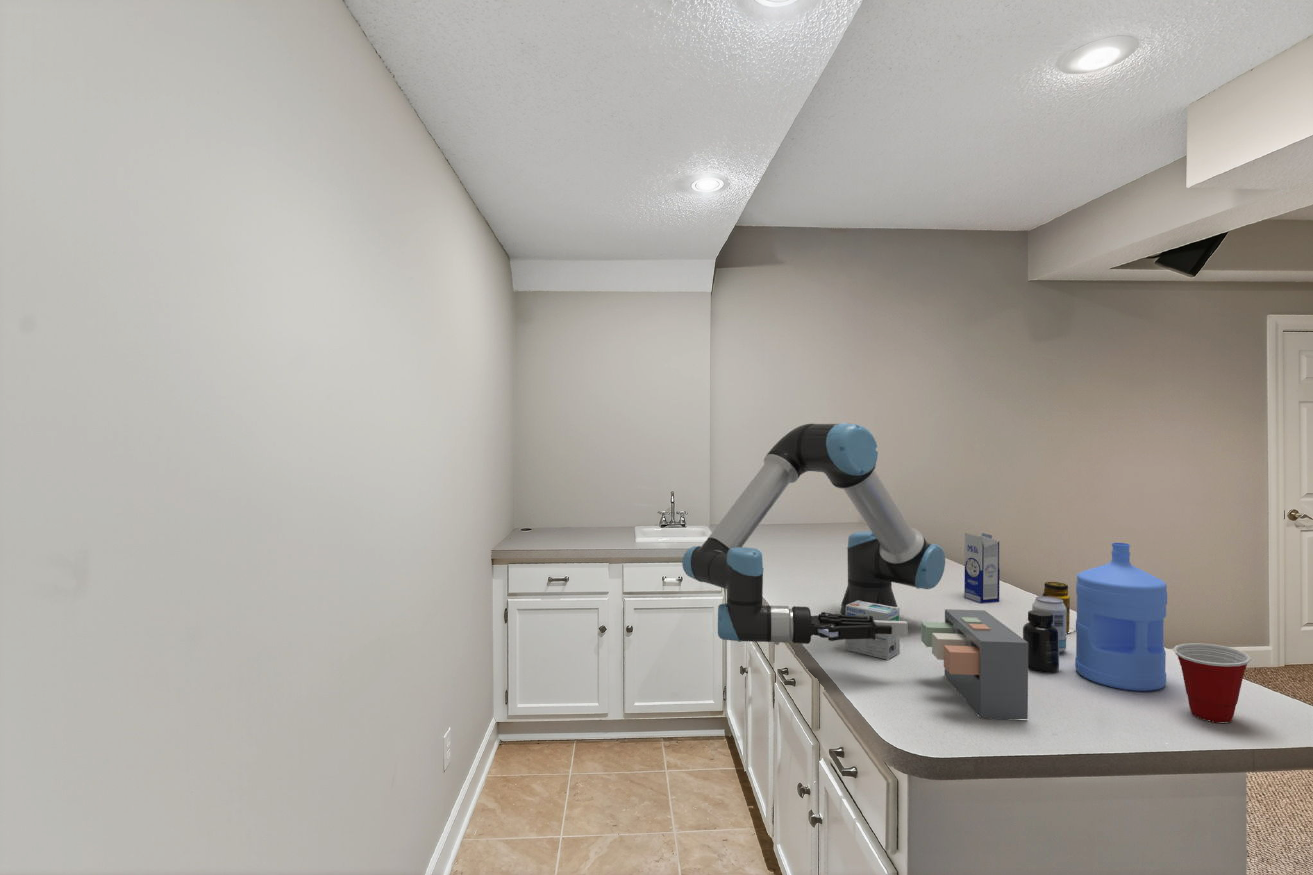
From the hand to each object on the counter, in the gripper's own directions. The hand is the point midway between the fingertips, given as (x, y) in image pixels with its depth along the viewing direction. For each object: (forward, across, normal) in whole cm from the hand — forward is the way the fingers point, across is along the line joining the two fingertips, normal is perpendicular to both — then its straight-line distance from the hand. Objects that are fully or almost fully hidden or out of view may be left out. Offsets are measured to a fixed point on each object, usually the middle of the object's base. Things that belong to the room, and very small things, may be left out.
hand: (906, 628), depth 140 cm
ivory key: (+7, +7, -3) cm, 11 cm away
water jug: (+44, -6, -10) cm, 46 cm away
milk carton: (+39, -68, -10) cm, 79 cm away
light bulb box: (-3, -17, -11) cm, 20 cm away
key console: (+13, +7, -10) cm, 18 cm away
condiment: (+46, -38, -10) cm, 61 cm away
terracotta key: (+7, +15, -3) cm, 17 cm away
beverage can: (+38, -22, -10) cm, 45 cm away
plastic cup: (+50, +13, -10) cm, 53 cm away
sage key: (+7, 0, -3) cm, 8 cm away
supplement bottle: (+31, -10, -10) cm, 34 cm away
